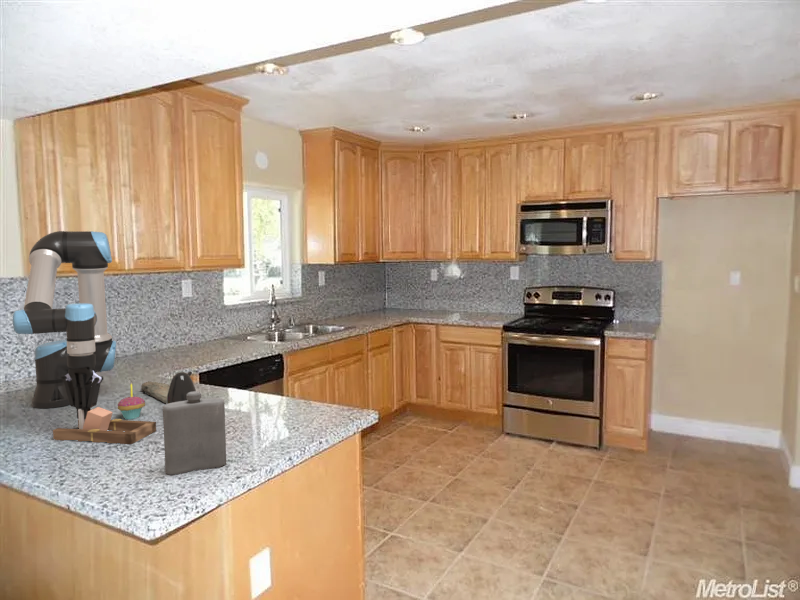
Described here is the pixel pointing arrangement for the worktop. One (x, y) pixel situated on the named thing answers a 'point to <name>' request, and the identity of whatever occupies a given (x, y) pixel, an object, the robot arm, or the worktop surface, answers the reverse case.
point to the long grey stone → (156, 390)
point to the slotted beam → (109, 432)
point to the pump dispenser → (180, 387)
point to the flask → (194, 434)
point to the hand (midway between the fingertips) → (84, 428)
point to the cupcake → (131, 406)
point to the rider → (97, 419)
